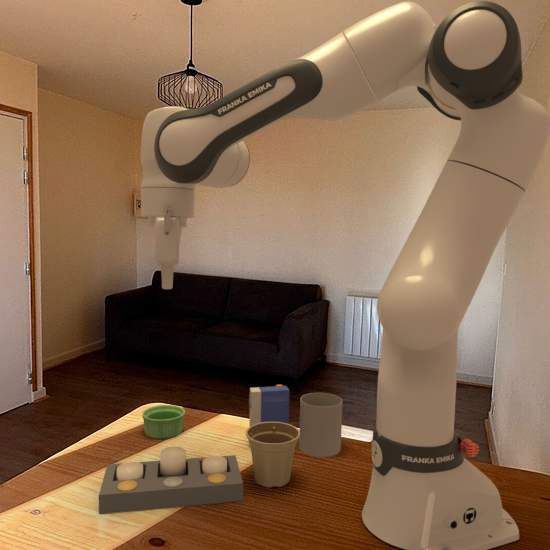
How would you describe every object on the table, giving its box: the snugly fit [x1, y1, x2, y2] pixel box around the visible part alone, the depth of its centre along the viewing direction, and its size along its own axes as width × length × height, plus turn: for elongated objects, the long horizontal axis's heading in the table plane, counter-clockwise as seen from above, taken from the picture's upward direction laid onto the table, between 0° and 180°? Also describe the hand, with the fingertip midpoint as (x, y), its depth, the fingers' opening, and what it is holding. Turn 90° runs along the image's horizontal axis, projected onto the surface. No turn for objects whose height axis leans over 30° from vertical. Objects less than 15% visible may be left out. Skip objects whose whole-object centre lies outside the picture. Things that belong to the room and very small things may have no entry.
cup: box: [298, 392, 343, 458], centre depth 99 cm, size 8×8×10 cm
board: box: [98, 454, 244, 515], centre depth 81 cm, size 22×10×3 cm, turn 102°
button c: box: [117, 461, 143, 481], centre depth 81 cm, size 4×4×3 cm
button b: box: [159, 446, 187, 477], centre depth 83 cm, size 4×4×3 cm
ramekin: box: [141, 404, 186, 440], centre depth 105 cm, size 9×9×4 cm
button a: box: [202, 455, 227, 474], centre depth 84 cm, size 4×4×3 cm
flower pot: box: [245, 422, 300, 489], centre depth 86 cm, size 9×9×9 cm
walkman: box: [248, 384, 290, 449], centre depth 100 cm, size 8×3×12 cm, turn 104°
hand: (167, 288), depth 84 cm, fingers closed
